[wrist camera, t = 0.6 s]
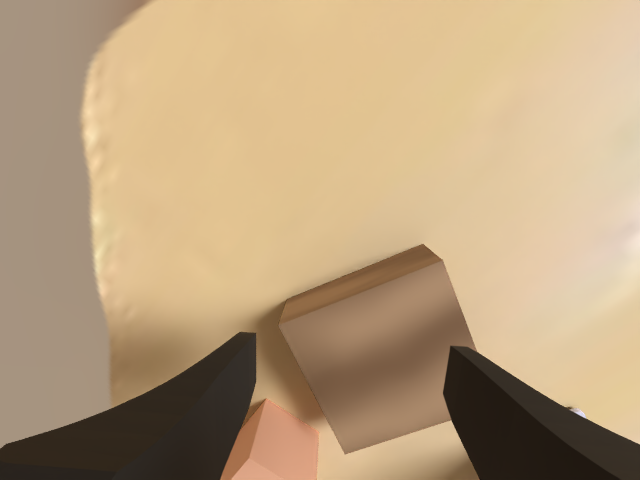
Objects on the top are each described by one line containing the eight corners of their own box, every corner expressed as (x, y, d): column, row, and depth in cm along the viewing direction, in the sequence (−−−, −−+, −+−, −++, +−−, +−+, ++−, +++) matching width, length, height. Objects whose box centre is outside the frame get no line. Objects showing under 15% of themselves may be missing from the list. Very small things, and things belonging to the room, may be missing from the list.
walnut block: (468, 363, 22) (496, 405, 18) (342, 407, 23) (345, 454, 20) (421, 242, 20) (442, 260, 16) (287, 297, 21) (277, 325, 18)
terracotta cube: (318, 431, 24) (315, 498, 19) (283, 470, 25) (271, 544, 20) (266, 397, 23) (249, 457, 18) (232, 439, 24) (206, 507, 19)
